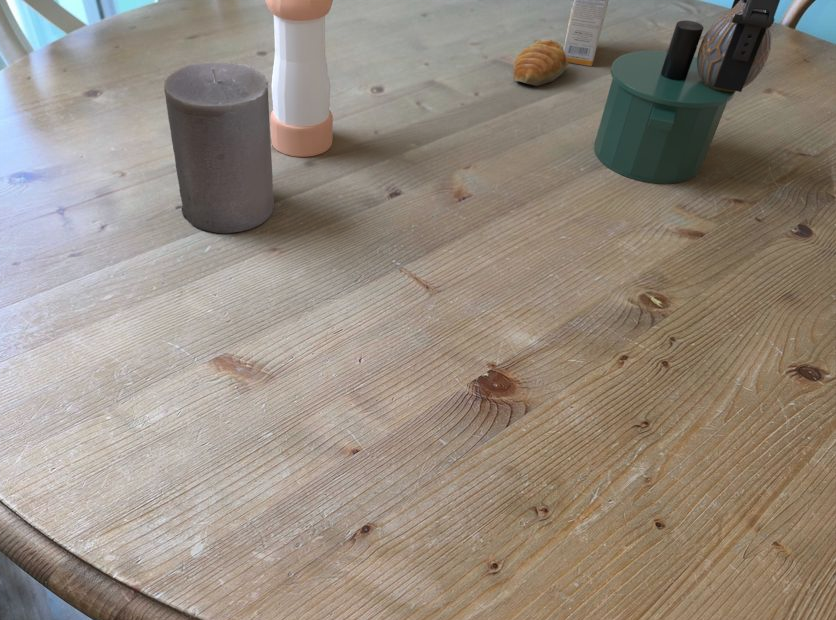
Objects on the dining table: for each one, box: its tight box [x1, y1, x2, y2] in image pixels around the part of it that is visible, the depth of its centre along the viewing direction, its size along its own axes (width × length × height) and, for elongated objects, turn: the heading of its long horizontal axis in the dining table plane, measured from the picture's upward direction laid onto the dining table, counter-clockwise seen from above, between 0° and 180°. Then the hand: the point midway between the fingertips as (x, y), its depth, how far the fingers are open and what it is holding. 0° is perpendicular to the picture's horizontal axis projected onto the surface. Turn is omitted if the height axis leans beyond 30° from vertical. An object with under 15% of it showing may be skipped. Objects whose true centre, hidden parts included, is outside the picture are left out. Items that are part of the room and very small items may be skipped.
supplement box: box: [563, 0, 610, 67], centre depth 108 cm, size 8×5×13 cm, turn 163°
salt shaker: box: [265, 0, 334, 158], centre depth 83 cm, size 7×7×19 cm
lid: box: [610, 20, 737, 108], centre depth 82 cm, size 14×14×7 cm
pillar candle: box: [163, 61, 275, 234], centre depth 74 cm, size 10×10×15 cm
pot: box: [593, 78, 728, 185], centre depth 88 cm, size 13×18×10 cm
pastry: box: [512, 39, 569, 87], centre depth 105 cm, size 9×7×4 cm
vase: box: [696, 0, 772, 92], centre depth 80 cm, size 7×7×9 cm
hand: (729, 65), depth 81 cm, fingers open, 12 cm apart
